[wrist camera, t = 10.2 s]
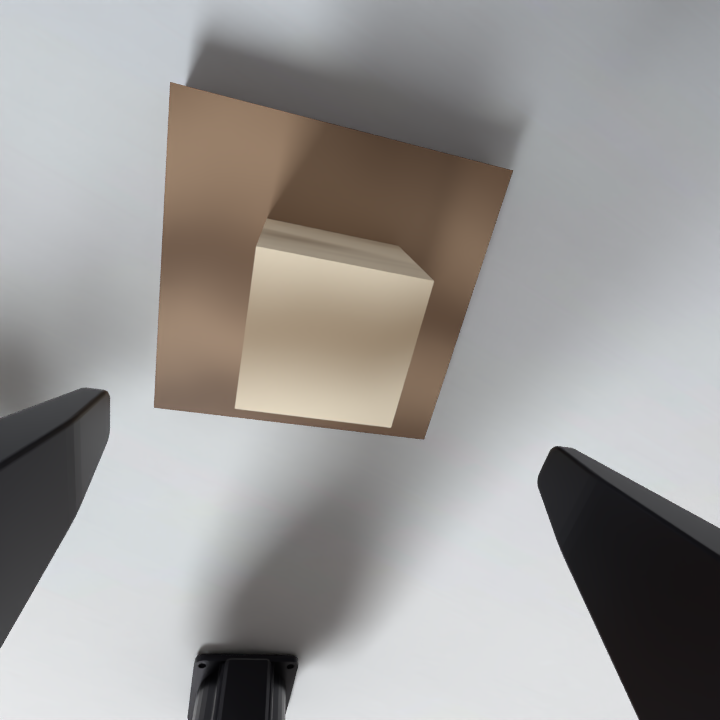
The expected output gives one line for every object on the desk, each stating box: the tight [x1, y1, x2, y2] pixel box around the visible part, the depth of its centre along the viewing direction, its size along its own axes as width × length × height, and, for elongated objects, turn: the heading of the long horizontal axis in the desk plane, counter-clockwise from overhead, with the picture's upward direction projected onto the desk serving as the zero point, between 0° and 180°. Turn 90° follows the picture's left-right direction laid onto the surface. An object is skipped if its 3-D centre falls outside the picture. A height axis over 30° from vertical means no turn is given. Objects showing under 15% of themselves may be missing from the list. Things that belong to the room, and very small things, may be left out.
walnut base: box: [154, 82, 513, 439], centre depth 19 cm, size 12×12×2 cm
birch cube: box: [235, 218, 434, 428], centre depth 16 cm, size 5×5×5 cm
